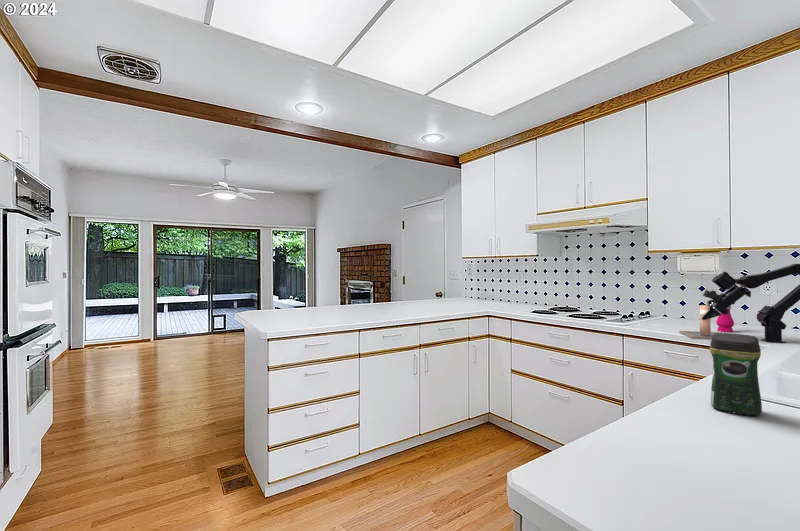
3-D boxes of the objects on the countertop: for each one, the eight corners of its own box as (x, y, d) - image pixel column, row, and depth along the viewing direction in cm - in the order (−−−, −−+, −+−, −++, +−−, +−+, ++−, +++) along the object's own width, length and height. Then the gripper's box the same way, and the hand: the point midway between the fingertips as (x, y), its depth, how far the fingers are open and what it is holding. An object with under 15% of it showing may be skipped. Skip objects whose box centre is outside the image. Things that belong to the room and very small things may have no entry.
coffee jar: (761, 410, 98) (760, 333, 98) (762, 419, 92) (762, 338, 92) (710, 401, 104) (710, 329, 104) (709, 410, 98) (708, 333, 98)
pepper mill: (727, 330, 213) (727, 292, 213) (737, 332, 205) (737, 293, 205) (713, 330, 213) (712, 292, 213) (722, 332, 206) (722, 293, 206)
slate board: (737, 340, 185) (737, 338, 185) (691, 338, 190) (691, 336, 190) (721, 334, 200) (721, 332, 200) (679, 333, 206) (679, 330, 206)
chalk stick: (712, 335, 190) (712, 306, 190) (702, 335, 191) (701, 305, 191) (708, 334, 194) (708, 305, 194) (698, 333, 195) (698, 305, 195)
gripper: (712, 283, 199) (685, 304, 204) (718, 285, 182) (689, 308, 188) (732, 299, 195) (704, 321, 200) (741, 303, 178) (710, 326, 184)
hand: (701, 318), depth 193 cm, fingers closed on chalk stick, 4 cm apart
